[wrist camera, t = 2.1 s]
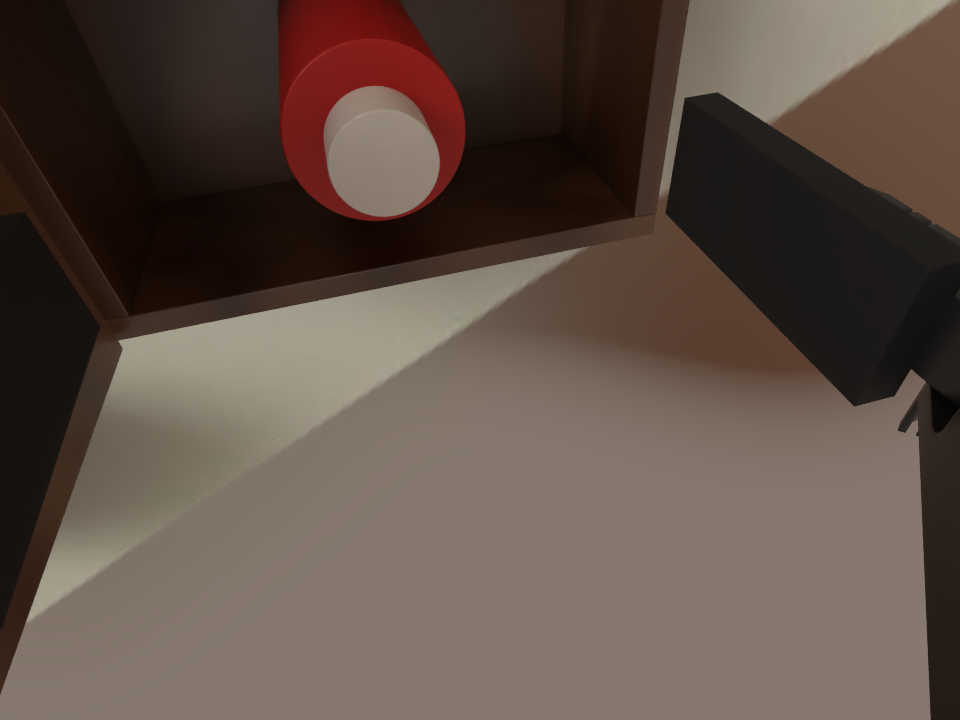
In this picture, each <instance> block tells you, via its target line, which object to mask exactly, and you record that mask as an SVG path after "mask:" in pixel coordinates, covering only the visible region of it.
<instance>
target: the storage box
mask: <svg viewBox="0 0 960 720" xmlns="http://www.w3.org/2000/svg"><path fill="white" fill-rule="evenodd" d="M399 1H400V2H401V4H402V5H403V7H404V8H405V10H406V12H407V13H408V15H409V16H410V18H411V19H412V21H413V23H414V24H415V26H416V27H417V29H418V31H419V32H420V34H421V35H422V37H423V38H424V40H425V42H426V43H427V45H428V46H429V48H430V49H431V51H432V53H433V54H434V56H435V57H436V59H437V60H438V62H439V64H440V65H441V67H442V68H443V70H444V71H445V73H446V75H447V76H448V78H449V79H450V81H451V83H452V84H453V86H454V88H455V89H456V92H457V94H458V96H459V99H460V101H461V105H462V108H463V112H464V118H465V144H464V150H463V154H462V158H461V160H460V163H459V166H458V168H457V170H456V172H455V174H454V176H453V178H452V179H451V181H450V182H449V183H448V185H447V186H446V188H445V189H444V190H443V191H442V192H441V193H440V194H439V195H438V196H437V197H436V198H435V199H434V200H432V201H431V202H430V203H429V204H427V205H426V206H424V207H423V208H421V209H419V210H417V211H415V212H413V213H411V214H408V215H406V216H403V217H399V218H395V219H391V220H383V221H367V220H359V219H354V218H350V217H347V216H344V215H341V214H338V213H336V212H334V211H332V210H330V209H328V208H326V207H325V206H323V205H322V204H320V203H319V202H317V201H316V200H315V199H314V198H313V197H312V196H310V195H309V194H308V193H307V192H306V191H305V189H304V188H303V187H302V186H301V185H300V184H299V182H298V181H297V179H296V178H295V177H294V175H293V173H292V171H291V169H290V167H289V166H288V163H287V160H286V158H285V155H284V152H283V147H282V143H281V134H280V98H279V47H278V5H279V0H0V161H1V162H2V164H3V165H4V167H5V169H6V170H7V172H8V173H9V175H10V176H11V178H12V179H13V181H14V182H15V184H16V185H17V187H18V188H19V190H20V192H21V193H22V195H23V196H24V198H25V199H26V201H27V202H28V204H29V205H30V207H31V208H32V210H33V211H34V213H35V215H36V216H37V218H38V219H39V221H40V222H41V224H42V225H43V227H44V228H45V230H46V231H47V233H48V234H49V236H50V238H51V239H52V241H53V242H54V244H55V245H56V247H57V248H58V250H59V251H60V253H61V254H62V256H63V258H64V259H65V261H66V262H67V264H68V265H69V267H70V268H71V270H72V271H73V273H74V274H75V276H76V277H77V279H78V281H79V282H80V284H81V285H82V287H83V288H84V290H85V291H86V293H87V294H88V296H89V297H90V299H91V300H92V302H93V304H94V305H95V307H96V308H97V310H98V311H99V313H100V314H101V316H102V317H103V319H104V320H105V322H106V324H107V325H108V327H109V328H110V330H111V331H112V333H113V334H114V336H115V337H116V339H117V340H123V339H128V338H133V337H138V336H143V335H148V334H153V333H158V332H163V331H168V330H173V329H178V328H183V327H188V326H193V325H198V324H203V323H208V322H213V321H218V320H223V319H228V318H233V317H238V316H243V315H248V314H253V313H258V312H263V311H268V310H273V309H278V308H283V307H288V306H293V305H298V304H303V303H308V302H313V301H318V300H323V299H328V298H332V297H337V296H342V295H347V294H352V293H357V292H362V291H367V290H372V289H377V288H382V287H387V286H392V285H397V284H402V283H407V282H412V281H417V280H422V279H427V278H432V277H437V276H442V275H447V274H452V273H457V272H462V271H467V270H472V269H477V268H482V267H487V266H492V265H497V264H502V263H507V262H512V261H517V260H522V259H527V258H532V257H537V256H542V255H547V254H552V253H557V252H562V251H567V250H572V249H577V248H582V247H587V246H592V245H597V244H602V243H607V242H611V241H617V240H621V239H627V238H631V237H637V236H642V235H646V234H651V233H653V227H654V220H655V213H656V209H657V203H658V197H659V191H660V184H661V178H662V172H663V165H664V159H665V152H666V146H667V140H668V133H669V127H670V121H671V114H672V108H673V102H674V95H675V89H676V83H677V76H678V70H679V63H680V57H681V51H682V44H683V38H684V32H685V25H686V19H687V13H688V6H689V0H399Z"/></svg>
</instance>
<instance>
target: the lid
mask: <svg viewBox="0 0 960 720" xmlns="http://www.w3.org/2000/svg"><path fill="white" fill-rule="evenodd" d="M20 212H25V213H26V215H27V216H28V218H29V219H30V221H31V222H32V224H33V225H34V227H35V228H36V230H37V231H38V233H39V234H40V236H41V237H42V239H43V240H44V242H45V243H46V245H47V246H48V248H49V249H50V251H51V252H52V254H53V255H54V257H55V258H56V260H57V262H58V263H59V265H60V266H61V268H62V269H63V271H64V272H65V274H66V275H67V277H68V278H69V280H70V281H71V283H72V284H73V286H74V287H75V289H76V290H77V292H78V293H79V295H80V296H81V298H82V299H83V301H84V302H85V304H86V305H87V307H88V308H89V310H90V311H91V313H92V314H93V316H94V318H95V319H96V321H97V322H98V324H99V325H100V330H99V333H98V336H97V339H96V342H95V345H94V348H93V351H92V354H91V357H90V360H89V363H88V366H87V370H86V373H85V376H84V379H83V382H82V385H81V388H80V391H79V394H78V397H77V400H76V403H75V406H74V409H73V413H72V416H71V419H70V422H69V425H68V428H67V431H66V434H65V437H64V440H63V443H62V446H61V449H60V452H59V456H58V459H57V462H56V465H55V468H54V471H53V474H52V477H51V480H50V483H49V486H48V489H47V492H46V496H45V499H44V502H43V505H42V508H41V511H40V514H39V517H38V520H37V523H36V526H35V529H34V532H33V535H32V539H31V542H30V545H29V548H28V551H27V554H26V557H25V560H24V563H23V566H22V569H21V572H20V575H19V578H18V582H17V585H16V588H15V591H14V594H13V597H12V600H11V603H10V606H9V609H8V612H7V615H6V618H5V621H4V625H3V628H2V629H0V694H1V691H2V688H3V685H4V682H5V680H6V677H7V674H8V671H9V668H10V666H11V663H12V660H13V657H14V654H15V651H16V649H17V646H18V643H19V640H20V637H21V635H22V632H23V629H24V626H25V623H26V621H27V618H28V615H29V612H30V609H31V606H32V604H33V601H34V598H35V595H36V592H37V589H38V587H39V584H40V581H41V578H42V575H43V573H44V570H45V567H46V564H47V561H48V558H49V556H50V553H51V550H52V547H53V544H54V542H55V539H56V536H57V533H58V530H59V527H60V525H61V522H62V519H63V516H64V513H65V511H66V508H67V505H68V502H69V499H70V496H71V494H72V491H73V488H74V485H75V482H76V480H77V477H78V474H79V471H80V468H81V465H82V463H83V460H84V457H85V454H86V451H87V449H88V446H89V443H90V440H91V437H92V434H93V432H94V429H95V426H96V423H97V420H98V418H99V415H100V412H101V409H102V406H103V403H104V401H105V398H106V395H107V392H108V389H109V386H110V384H111V381H112V378H113V375H114V372H115V370H116V367H117V364H118V361H119V358H120V355H121V353H122V347H121V345H120V343H119V342H118V340H117V339H116V337H115V336H114V334H113V333H112V331H111V330H110V328H109V327H108V325H107V324H106V322H105V320H104V319H103V317H102V316H101V314H100V313H99V311H98V310H97V308H96V307H95V305H94V304H93V302H92V300H91V299H90V297H89V296H88V294H87V293H86V291H85V290H84V288H83V287H82V285H81V284H80V282H79V281H78V279H77V277H76V276H75V274H74V273H73V271H72V270H71V268H70V267H69V265H68V264H67V262H66V261H65V259H64V258H63V256H62V254H61V253H60V251H59V250H58V248H57V247H56V245H55V244H54V242H53V241H52V239H51V238H50V236H49V234H48V233H47V231H46V230H45V228H44V227H43V225H42V224H41V222H40V221H39V219H38V218H37V216H36V215H35V213H34V211H33V210H32V208H31V207H30V205H29V204H28V202H27V201H26V199H25V198H24V196H23V195H22V193H21V192H20V190H19V188H18V187H17V185H16V184H15V182H14V181H13V179H12V178H11V176H10V175H9V173H8V172H7V170H6V169H5V167H4V165H3V164H2V162H1V161H0V216H3V215H9V214H15V213H20Z"/></svg>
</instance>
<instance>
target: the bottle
mask: <svg viewBox="0 0 960 720" xmlns="http://www.w3.org/2000/svg"><path fill="white" fill-rule="evenodd" d="M278 47H279V98H280V134H281V143H282V147H283V152H284V155H285V158H286V160H287V163H288V166H289V167H290V169H291V171H292V173H293V175H294V177H295V178H296V179H297V181H298V182H299V184H300V185H301V186H302V187H303V188H304V189H305V191H306V192H307V193H308V194H309V195H310V196H312V197H313V198H314V199H315V200H316V201H317V202H319V203H320V204H322V205H323V206H325V207H326V208H328V209H330V210H332V211H334V212H336V213H338V214H341V215H344V216H347V217H350V218H354V219H359V220H367V221H383V220H391V219H395V218H399V217H403V216H406V215H408V214H411V213H413V212H415V211H417V210H419V209H421V208H423V207H424V206H426V205H427V204H429V203H430V202H431V201H432V200H434V199H435V198H436V197H437V196H438V195H439V194H440V193H441V192H442V191H443V190H444V189H445V188H446V186H447V185H448V183H449V182H450V181H451V179H452V178H453V176H454V174H455V172H456V170H457V168H458V166H459V163H460V160H461V158H462V154H463V150H464V144H465V118H464V112H463V108H462V105H461V101H460V99H459V96H458V94H457V92H456V89H455V88H454V86H453V84H452V83H451V81H450V79H449V78H448V76H447V75H446V73H445V71H444V70H443V68H442V67H441V65H440V64H439V62H438V60H437V59H436V57H435V56H434V54H433V53H432V51H431V49H430V48H429V46H428V45H427V43H426V42H425V40H424V38H423V37H422V35H421V34H420V32H419V31H418V29H417V27H416V26H415V24H414V23H413V21H412V19H411V18H410V16H409V15H408V13H407V12H406V10H405V8H404V7H403V5H402V4H401V2H400V1H399V0H279V5H278Z"/></svg>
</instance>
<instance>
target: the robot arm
mask: <svg viewBox="0 0 960 720" xmlns="http://www.w3.org/2000/svg"><path fill="white" fill-rule="evenodd" d="M666 214H667V215H668V216H669V217H670V218H671V219H672V220H673V221H674V223H675V224H676V225H677V226H678V227H680V229H681V230H682V231H683V232H684V233H685V234H686V235H687V236H688V237H689V238H690V239H691V240H692V241H693V242H694V243H695V244H696V245H697V246H698V247H699V248H700V249H701V250H702V251H703V252H704V253H705V254H706V255H707V256H708V257H709V258H710V259H711V260H712V261H713V262H714V263H715V264H716V266H718V268H720V270H722V272H723V273H724V274H725V275H726V276H728V278H729V279H730V280H731V281H732V282H733V283H734V284H735V285H736V286H737V287H738V288H739V289H740V290H741V291H742V292H743V293H744V294H745V295H746V296H747V297H748V298H749V299H750V300H751V301H752V302H753V303H754V304H755V305H756V306H757V307H758V308H759V309H760V311H761V312H763V314H764V315H765V316H766V317H767V318H768V319H769V320H770V321H771V322H772V323H773V324H774V325H775V326H777V328H778V329H779V330H780V331H781V332H782V333H783V334H784V335H785V336H786V337H787V338H788V339H789V340H790V341H791V342H792V343H793V344H794V345H795V346H796V347H797V348H798V349H799V350H800V351H801V353H803V354H804V356H805V357H806V358H807V359H808V360H809V361H810V362H811V363H812V364H813V365H814V366H815V367H816V368H817V369H818V370H819V371H820V372H821V373H822V374H823V375H824V376H825V377H826V378H827V379H828V380H829V381H830V382H831V383H832V384H833V385H834V386H835V387H836V388H837V389H838V390H839V391H840V392H841V393H842V394H843V395H844V396H845V398H847V400H848V401H849V402H850V403H851V404H853V406H858V405H862V404H866V403H870V402H873V401H877V400H881V399H885V398H889V397H892V396H895V394H896V392H897V391H898V389H899V387H900V386H901V384H902V383H903V381H904V379H905V378H906V376H907V374H908V373H909V371H910V370H911V369H912V370H913V371H914V372H915V373H917V374H918V375H919V376H920V377H921V378H923V379H924V380H925V381H926V383H925V385H924V386H923V388H922V389H921V391H920V393H919V394H918V396H917V397H916V399H915V400H914V402H913V403H912V405H911V406H910V408H909V410H908V411H907V413H906V414H905V416H904V417H903V419H902V420H901V422H900V425H899V428H898V431H901V432H906V431H907V429H908V428H909V426H910V425H911V423H912V422H914V421H916V420H918V428H919V429H918V430H919V431H918V432H917V434H916V436H919V451H920V452H919V453H920V477H921V499H922V500H921V501H922V524H923V547H924V569H925V571H924V572H925V594H926V619H927V642H928V665H929V689H930V713H931V720H960V238H958V237H956V236H955V235H953V234H952V233H950V232H948V231H946V230H945V229H944V228H942V227H940V226H939V225H937V224H935V225H932V224H931V220H929V219H928V218H926V217H924V216H923V215H921V214H920V213H918V212H915V213H913V212H912V209H911V208H910V207H908V206H907V205H905V204H904V203H902V202H900V201H899V200H897V199H896V198H894V197H892V196H891V195H889V194H886V193H883V192H881V191H878V190H875V189H872V188H869V187H866V186H864V185H863V184H861V183H860V182H858V181H856V180H855V179H853V178H851V177H850V176H848V175H847V174H845V173H843V172H842V171H840V170H839V169H837V168H836V167H834V166H833V165H831V164H830V163H828V162H826V161H825V160H823V159H822V158H820V157H819V156H817V155H815V154H814V153H812V152H811V151H809V150H807V149H806V148H804V147H803V146H801V145H800V144H798V143H796V142H795V141H793V140H792V139H790V138H789V137H787V136H785V135H784V134H782V133H781V132H779V131H778V130H776V129H774V128H773V127H771V126H770V125H768V124H767V123H765V122H763V121H762V120H760V119H759V118H757V117H756V116H754V115H752V114H751V113H749V112H748V111H746V110H745V109H743V108H741V107H740V106H738V105H737V104H735V103H734V102H732V101H730V100H729V99H727V98H726V97H724V96H722V95H721V94H719V93H718V92H717V93H711V94H706V95H700V96H694V97H688V98H685V100H684V106H683V112H682V118H681V124H680V130H679V136H678V142H677V148H676V154H675V160H674V166H673V172H672V178H671V184H670V190H669V196H668V202H667V208H666ZM99 330H100V325H99V324H98V322H97V321H96V319H95V318H94V316H93V314H92V313H91V311H90V310H89V308H88V307H87V305H86V304H85V302H84V301H83V299H82V298H81V296H80V295H79V293H78V292H77V290H76V289H75V287H74V286H73V284H72V283H71V281H70V280H69V278H68V277H67V275H66V274H65V272H64V271H63V269H62V268H61V266H60V265H59V263H58V262H57V260H56V258H55V257H54V255H53V254H52V252H51V251H50V249H49V248H48V246H47V245H46V243H45V242H44V240H43V239H42V237H41V236H40V234H39V233H38V231H37V230H36V228H35V227H34V225H33V224H32V222H31V221H30V219H29V218H28V216H27V215H26V213H25V212H20V213H15V214H9V215H3V216H0V629H2V628H3V625H4V621H5V618H6V615H7V612H8V609H9V606H10V603H11V600H12V597H13V594H14V591H15V588H16V585H17V582H18V578H19V575H20V572H21V569H22V566H23V563H24V560H25V557H26V554H27V551H28V548H29V545H30V542H31V539H32V535H33V532H34V529H35V526H36V523H37V520H38V517H39V514H40V511H41V508H42V505H43V502H44V499H45V496H46V492H47V489H48V486H49V483H50V480H51V477H52V474H53V471H54V468H55V465H56V462H57V459H58V456H59V452H60V449H61V446H62V443H63V440H64V437H65V434H66V431H67V428H68V425H69V422H70V419H71V416H72V413H73V409H74V406H75V403H76V400H77V397H78V394H79V391H80V388H81V385H82V382H83V379H84V376H85V373H86V370H87V366H88V363H89V360H90V357H91V354H92V351H93V348H94V345H95V342H96V339H97V336H98V333H99Z"/></svg>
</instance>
